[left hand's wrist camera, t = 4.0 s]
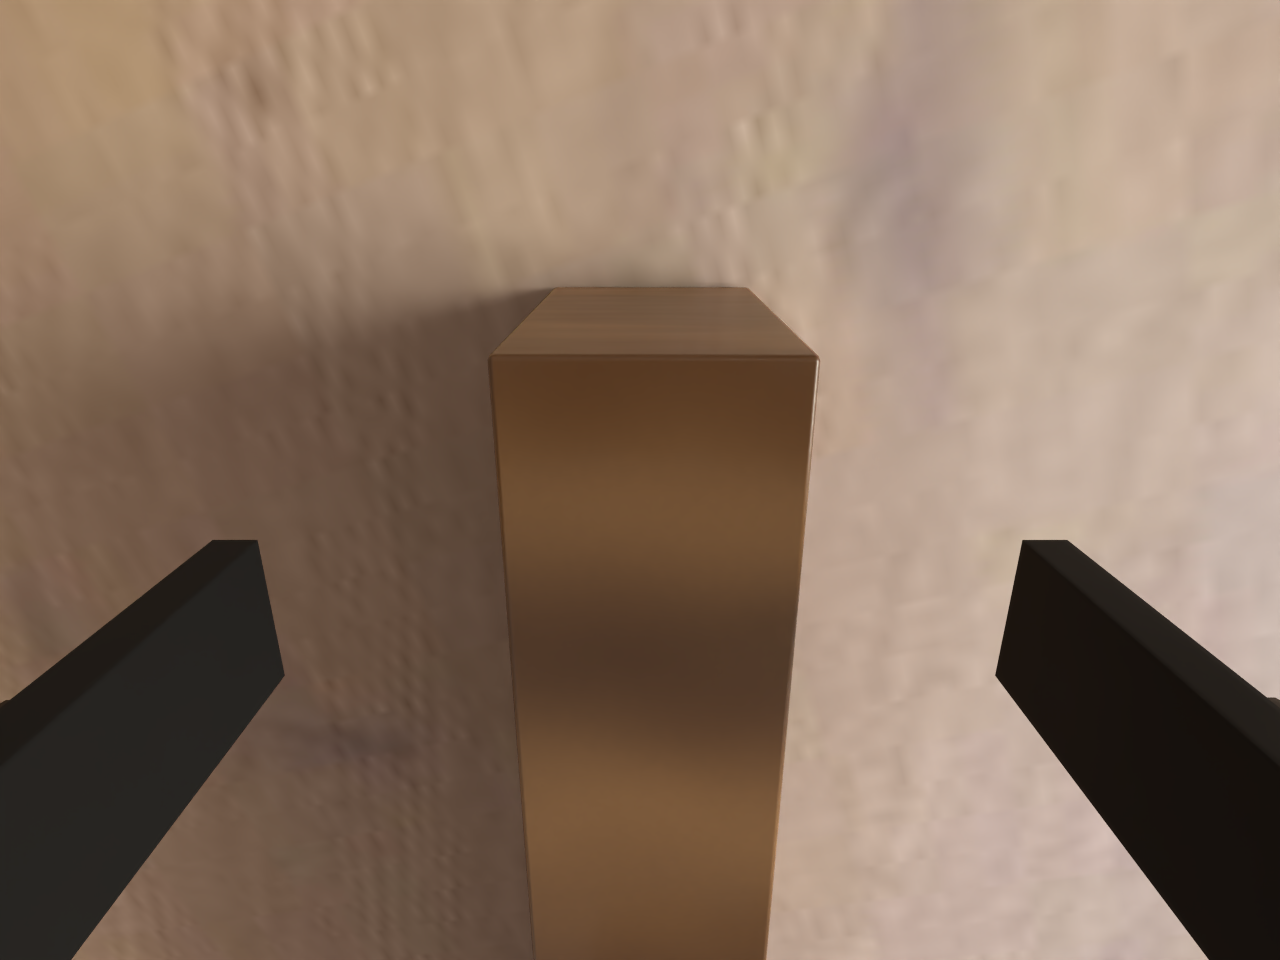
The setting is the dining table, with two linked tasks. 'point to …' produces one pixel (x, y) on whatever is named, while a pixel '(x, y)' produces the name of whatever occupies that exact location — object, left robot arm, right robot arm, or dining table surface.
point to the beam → (652, 610)
